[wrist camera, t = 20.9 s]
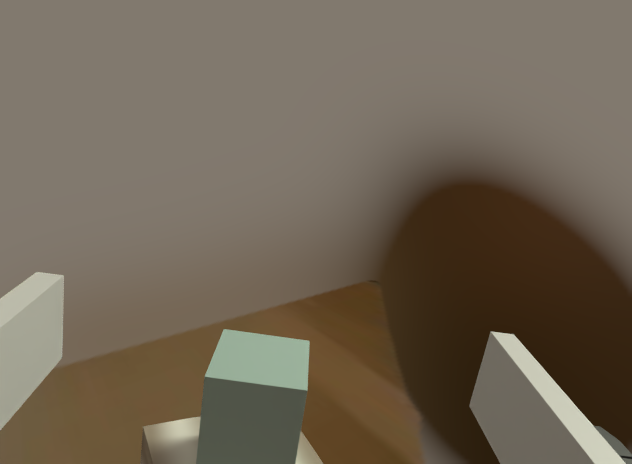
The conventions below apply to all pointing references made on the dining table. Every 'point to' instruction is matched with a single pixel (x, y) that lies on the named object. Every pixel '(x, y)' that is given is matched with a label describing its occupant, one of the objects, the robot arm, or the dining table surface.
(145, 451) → the top block
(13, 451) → the dining table surface
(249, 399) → the sage block
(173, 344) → the dining table surface
